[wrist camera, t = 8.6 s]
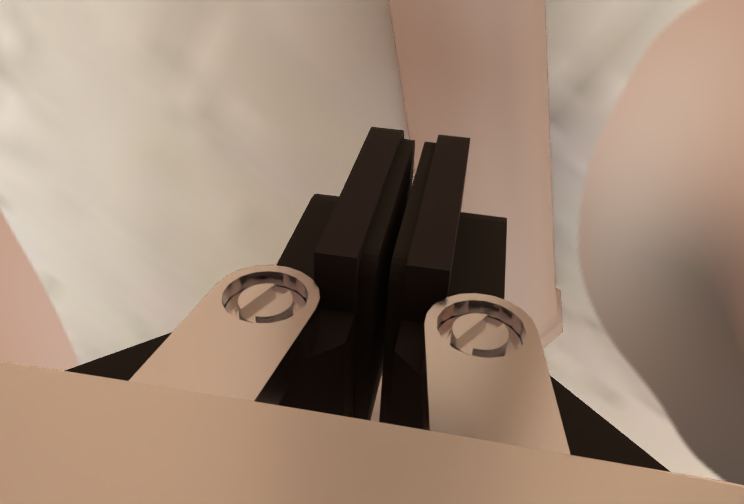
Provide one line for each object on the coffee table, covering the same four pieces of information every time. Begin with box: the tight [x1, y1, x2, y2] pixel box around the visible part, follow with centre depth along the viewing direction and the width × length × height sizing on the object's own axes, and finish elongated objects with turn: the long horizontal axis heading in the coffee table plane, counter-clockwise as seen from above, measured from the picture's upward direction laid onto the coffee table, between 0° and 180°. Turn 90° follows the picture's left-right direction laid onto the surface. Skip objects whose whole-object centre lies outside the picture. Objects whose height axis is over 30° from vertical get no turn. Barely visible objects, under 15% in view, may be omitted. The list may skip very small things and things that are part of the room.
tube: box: [389, 0, 563, 349], centre depth 22 cm, size 5×5×25 cm
